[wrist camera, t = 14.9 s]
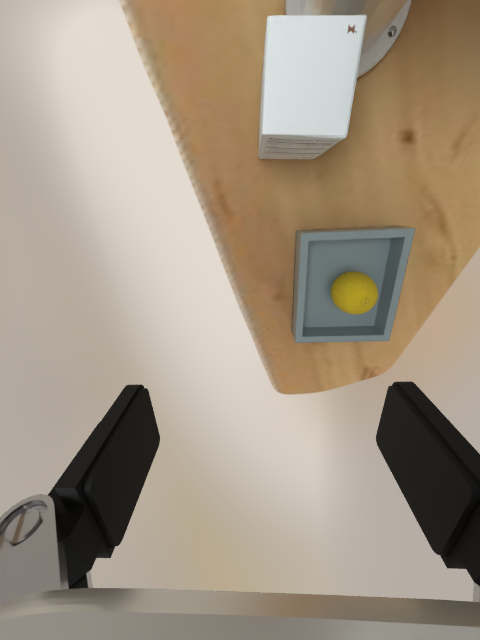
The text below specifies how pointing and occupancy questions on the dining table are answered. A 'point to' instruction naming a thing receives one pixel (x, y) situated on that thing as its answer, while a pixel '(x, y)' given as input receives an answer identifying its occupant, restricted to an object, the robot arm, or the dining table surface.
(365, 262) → the walled box
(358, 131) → the dining table surface
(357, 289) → the lemon
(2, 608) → the robot arm
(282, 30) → the supplement box
